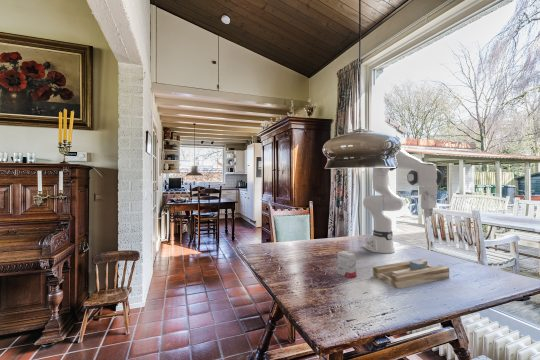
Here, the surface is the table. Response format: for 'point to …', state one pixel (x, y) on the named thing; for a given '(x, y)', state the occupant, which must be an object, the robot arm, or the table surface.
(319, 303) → the table surface
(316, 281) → the table surface
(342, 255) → the ink box
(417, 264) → the slate block
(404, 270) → the trap lane
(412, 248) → the table surface
